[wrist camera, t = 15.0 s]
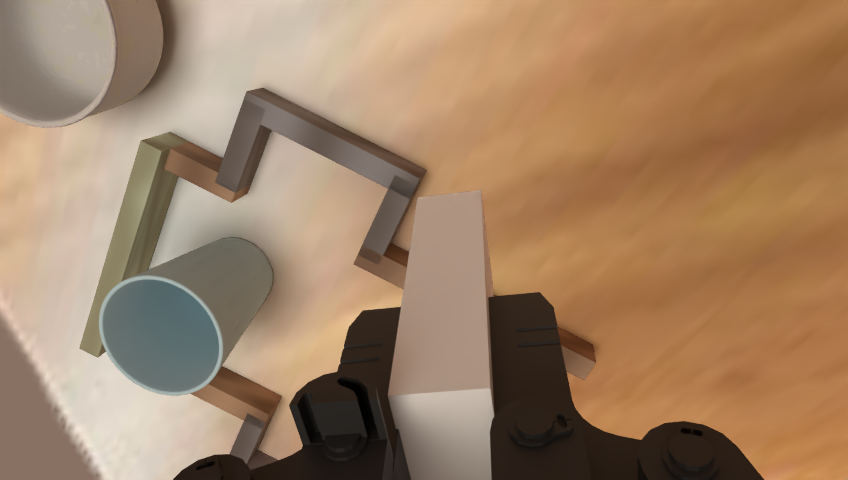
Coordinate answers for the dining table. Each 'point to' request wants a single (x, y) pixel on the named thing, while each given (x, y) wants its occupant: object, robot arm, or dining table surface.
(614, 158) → the dining table surface
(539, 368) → the robot arm
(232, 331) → the cup
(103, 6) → the teacup
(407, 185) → the wooden zigzag frame
